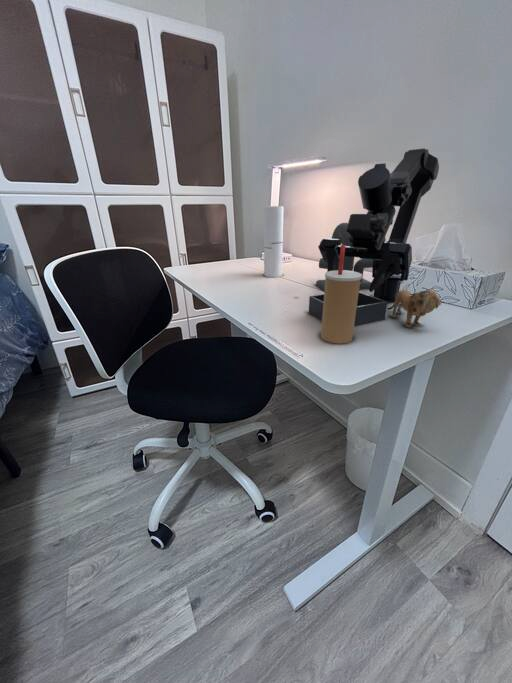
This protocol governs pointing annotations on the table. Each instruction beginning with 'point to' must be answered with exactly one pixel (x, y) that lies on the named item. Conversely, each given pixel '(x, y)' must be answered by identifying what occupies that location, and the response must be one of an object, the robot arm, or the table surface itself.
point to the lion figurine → (415, 304)
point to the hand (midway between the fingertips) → (348, 287)
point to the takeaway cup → (340, 303)
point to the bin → (365, 312)
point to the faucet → (347, 258)
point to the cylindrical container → (273, 240)
